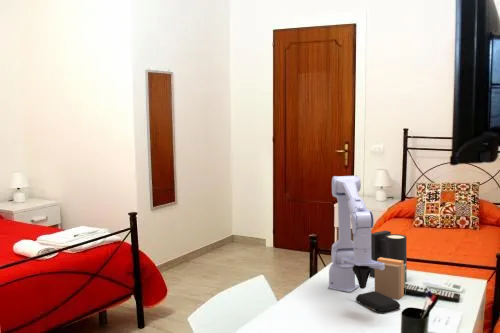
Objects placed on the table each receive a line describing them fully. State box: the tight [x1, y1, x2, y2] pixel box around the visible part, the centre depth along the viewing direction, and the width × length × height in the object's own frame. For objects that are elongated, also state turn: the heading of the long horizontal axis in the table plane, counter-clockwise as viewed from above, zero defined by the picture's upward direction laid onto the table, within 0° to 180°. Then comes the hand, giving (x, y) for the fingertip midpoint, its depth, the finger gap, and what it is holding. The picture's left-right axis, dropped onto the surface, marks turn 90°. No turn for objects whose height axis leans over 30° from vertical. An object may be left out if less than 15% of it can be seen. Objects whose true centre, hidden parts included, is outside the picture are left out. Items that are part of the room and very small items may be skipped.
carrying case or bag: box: [355, 290, 401, 314], centre depth 180 cm, size 11×3×15 cm
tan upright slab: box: [374, 257, 406, 300], centre depth 190 cm, size 8×9×13 cm
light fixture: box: [369, 229, 408, 283], centre depth 207 cm, size 10×14×18 cm
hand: (362, 287), depth 171 cm, fingers closed
